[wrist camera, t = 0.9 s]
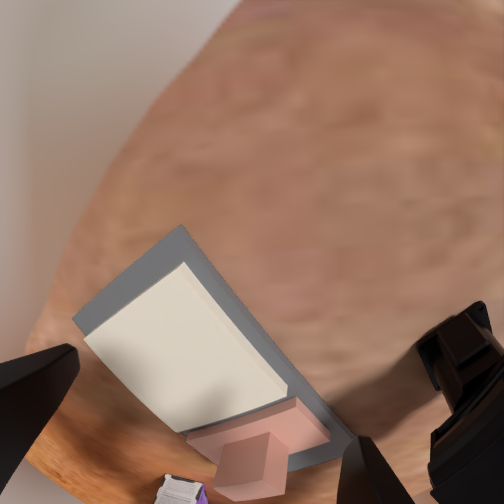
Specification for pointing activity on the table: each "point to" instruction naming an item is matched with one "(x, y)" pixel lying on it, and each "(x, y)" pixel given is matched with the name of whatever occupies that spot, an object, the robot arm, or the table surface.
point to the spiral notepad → (184, 355)
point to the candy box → (180, 491)
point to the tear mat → (186, 250)
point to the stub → (258, 448)
